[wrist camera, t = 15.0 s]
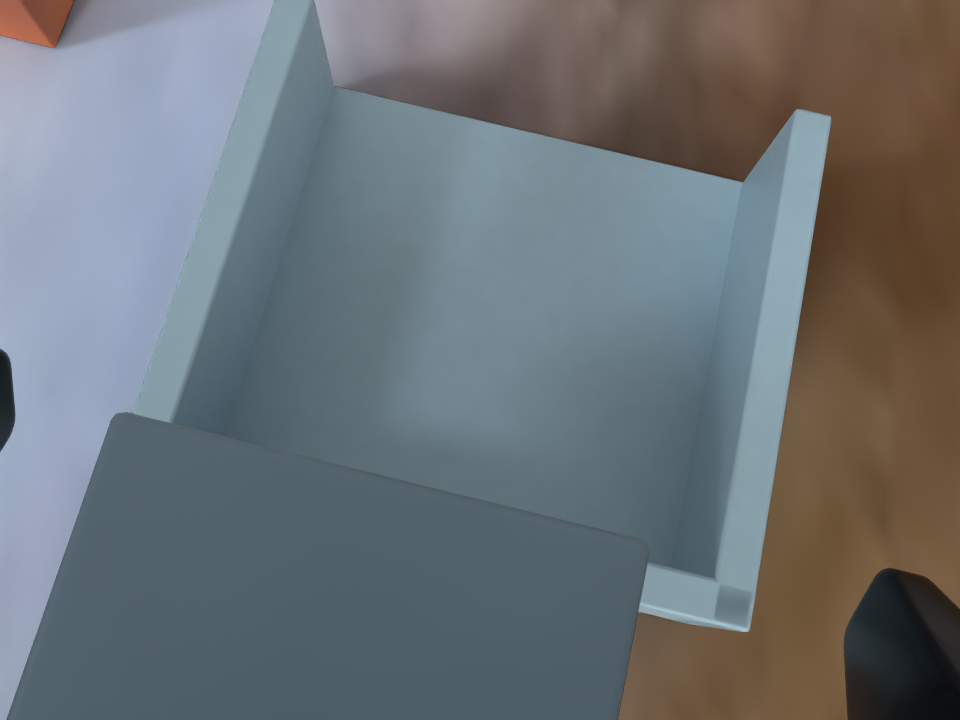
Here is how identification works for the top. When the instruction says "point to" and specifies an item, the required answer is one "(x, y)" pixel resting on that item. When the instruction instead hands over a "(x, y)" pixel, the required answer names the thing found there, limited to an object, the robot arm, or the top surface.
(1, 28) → the block
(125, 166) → the top surface
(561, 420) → the pale blue channel tray
